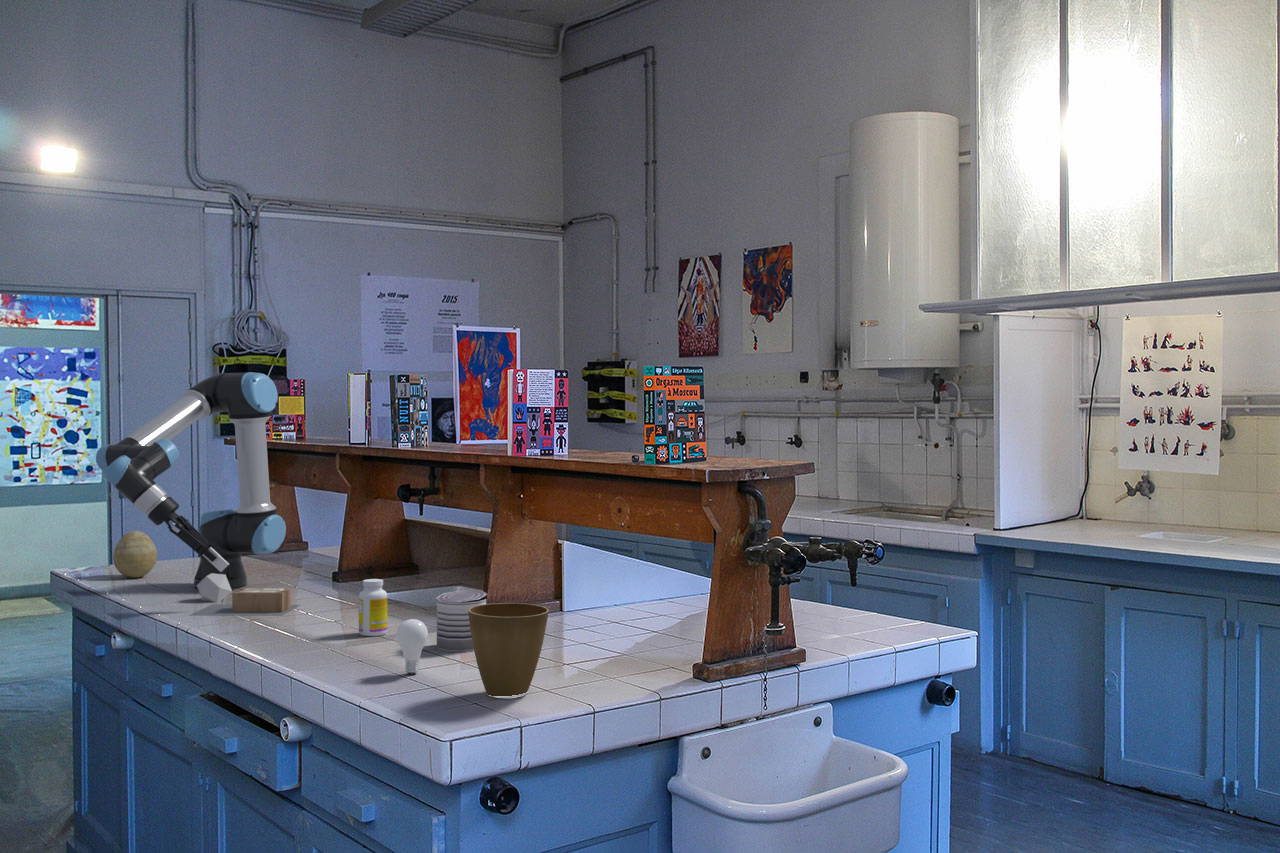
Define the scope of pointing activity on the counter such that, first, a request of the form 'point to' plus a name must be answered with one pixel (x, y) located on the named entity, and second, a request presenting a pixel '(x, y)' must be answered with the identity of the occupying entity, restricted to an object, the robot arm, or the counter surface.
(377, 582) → the supplement bottle
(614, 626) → the counter surface
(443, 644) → the can
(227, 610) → the mat
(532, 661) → the plant pot
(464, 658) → the counter surface
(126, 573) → the fossilized egg
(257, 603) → the label block
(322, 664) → the counter surface
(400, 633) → the lightbulb
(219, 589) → the die
